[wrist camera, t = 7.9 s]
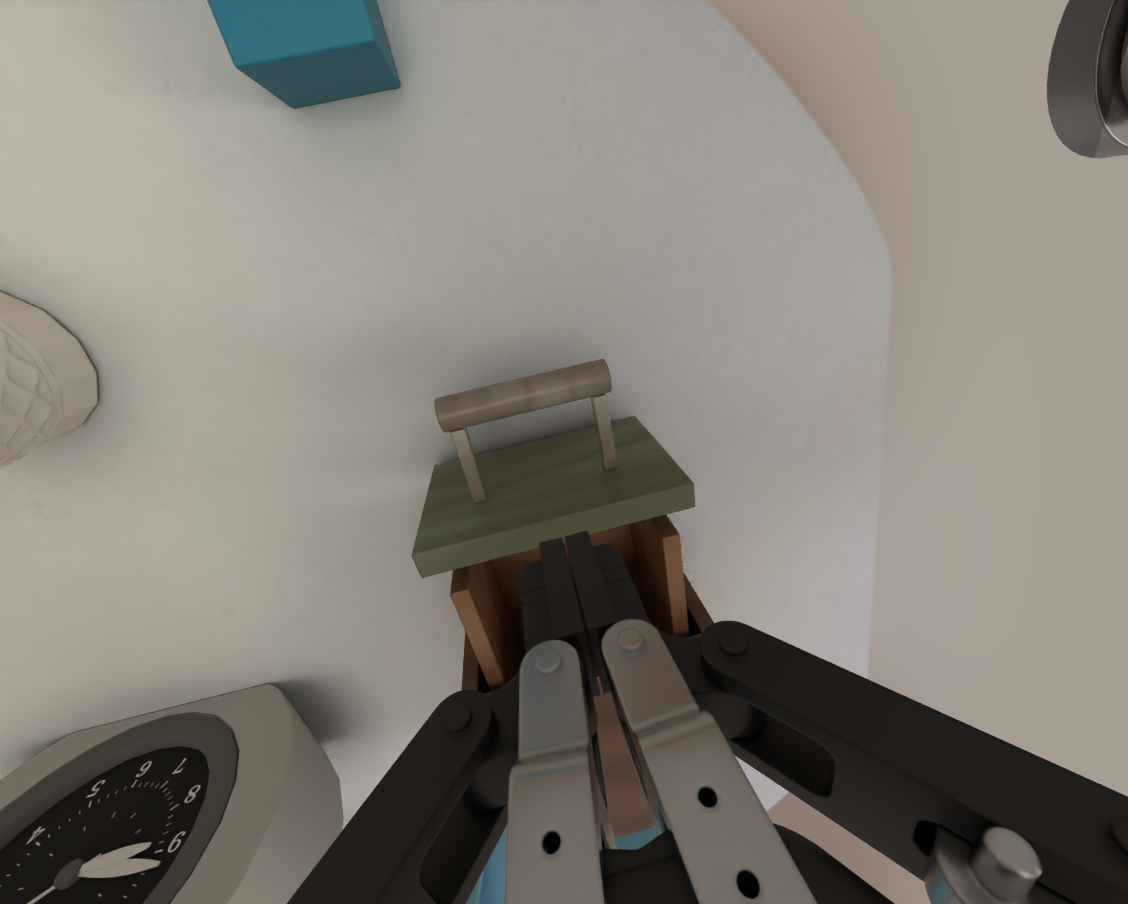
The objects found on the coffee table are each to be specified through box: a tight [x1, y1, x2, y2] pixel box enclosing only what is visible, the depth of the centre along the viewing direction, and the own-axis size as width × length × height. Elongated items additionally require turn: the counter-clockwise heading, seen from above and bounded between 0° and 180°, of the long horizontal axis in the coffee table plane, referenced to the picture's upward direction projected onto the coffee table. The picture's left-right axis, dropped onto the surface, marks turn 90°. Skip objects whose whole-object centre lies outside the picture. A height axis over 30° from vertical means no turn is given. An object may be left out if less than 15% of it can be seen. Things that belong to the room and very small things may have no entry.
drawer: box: [412, 359, 695, 692], centre depth 22 cm, size 18×11×8 cm, turn 11°
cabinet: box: [462, 572, 714, 839], centre depth 27 cm, size 15×13×10 cm
